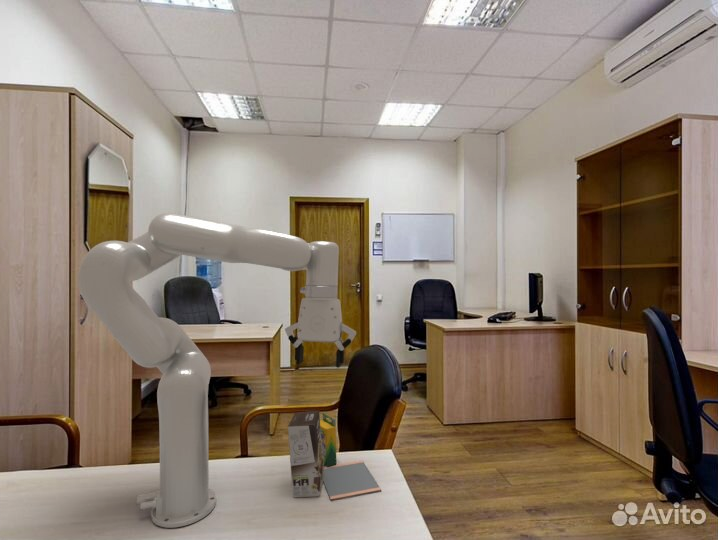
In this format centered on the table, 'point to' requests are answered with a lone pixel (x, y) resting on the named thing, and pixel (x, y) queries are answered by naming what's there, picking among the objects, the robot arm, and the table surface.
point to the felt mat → (349, 480)
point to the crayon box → (328, 440)
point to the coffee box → (306, 454)
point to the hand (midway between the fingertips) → (319, 364)
